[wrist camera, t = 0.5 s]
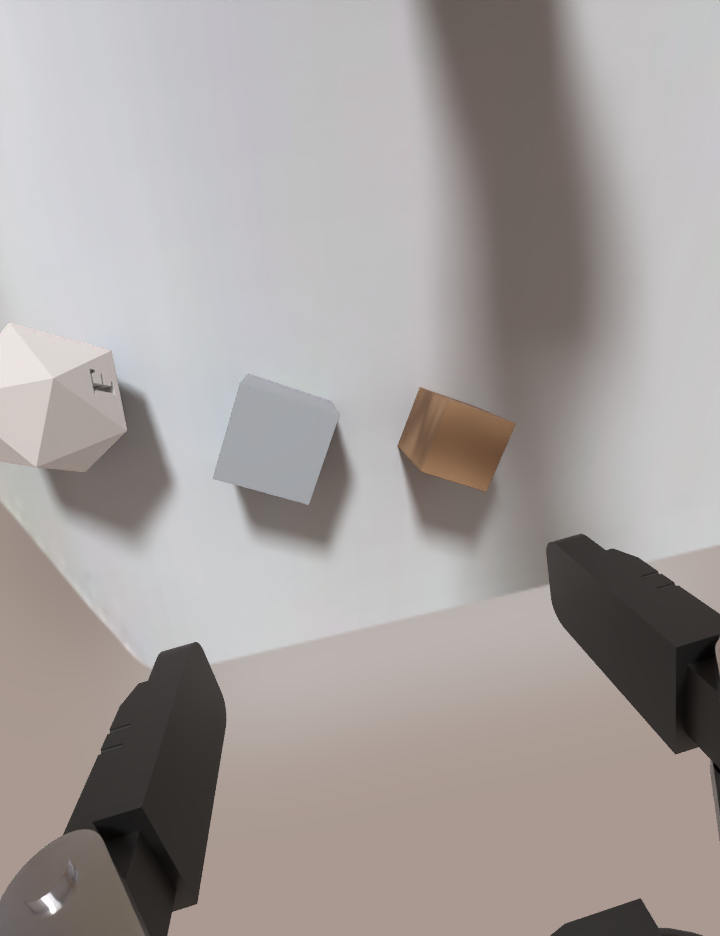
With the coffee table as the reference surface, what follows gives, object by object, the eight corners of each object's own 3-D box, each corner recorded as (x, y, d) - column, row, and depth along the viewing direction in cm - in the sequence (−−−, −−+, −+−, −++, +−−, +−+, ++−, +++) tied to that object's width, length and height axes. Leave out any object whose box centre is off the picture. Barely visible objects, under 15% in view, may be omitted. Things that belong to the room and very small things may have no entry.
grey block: (248, 373, 34) (240, 382, 28) (331, 401, 35) (339, 414, 30) (224, 454, 35) (212, 478, 30) (305, 477, 37) (308, 505, 31)
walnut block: (419, 387, 36) (449, 400, 29) (475, 406, 37) (515, 423, 31) (397, 446, 37) (420, 471, 31) (452, 463, 38) (486, 491, 32)
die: (127, 471, 35) (156, 445, 27) (-23, 492, 30) (-42, 467, 22) (106, 364, 36) (128, 307, 28) (-46, 366, 30) (-73, 296, 22)
